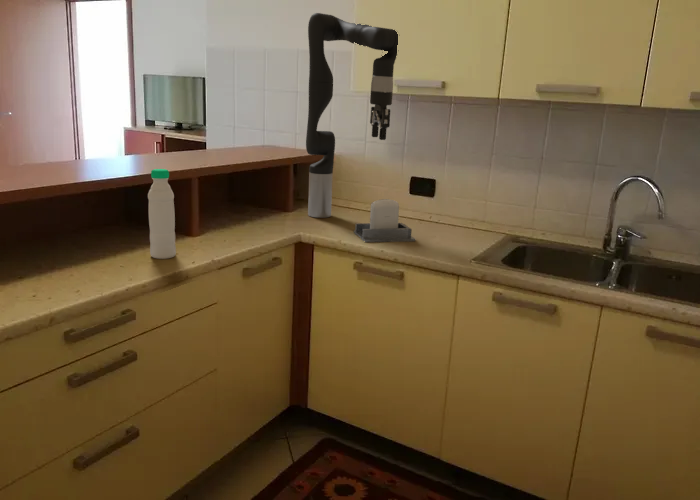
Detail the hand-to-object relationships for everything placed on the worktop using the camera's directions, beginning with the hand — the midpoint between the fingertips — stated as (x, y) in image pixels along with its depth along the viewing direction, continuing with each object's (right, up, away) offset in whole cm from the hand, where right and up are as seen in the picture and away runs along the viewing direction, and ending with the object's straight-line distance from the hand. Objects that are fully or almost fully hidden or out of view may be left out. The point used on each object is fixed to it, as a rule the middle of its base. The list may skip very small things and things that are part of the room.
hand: (378, 138), depth 204 cm
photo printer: (+2, -34, 0) cm, 34 cm away
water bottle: (-64, -41, -35) cm, 84 cm away
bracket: (+2, -34, 0) cm, 34 cm away
